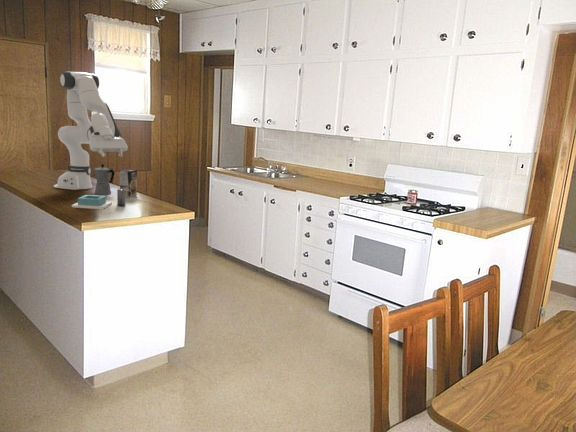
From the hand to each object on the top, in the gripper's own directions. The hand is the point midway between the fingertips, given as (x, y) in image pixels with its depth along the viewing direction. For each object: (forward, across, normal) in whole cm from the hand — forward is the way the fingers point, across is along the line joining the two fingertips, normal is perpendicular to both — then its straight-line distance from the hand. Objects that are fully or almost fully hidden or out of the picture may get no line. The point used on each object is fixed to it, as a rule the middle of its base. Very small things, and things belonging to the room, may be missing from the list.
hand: (112, 156), depth 256 cm
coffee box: (+10, -15, -27) cm, 32 cm away
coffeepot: (0, -6, -37) cm, 37 cm away
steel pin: (+27, +1, -10) cm, 28 cm away
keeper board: (+22, +14, -14) cm, 30 cm away
